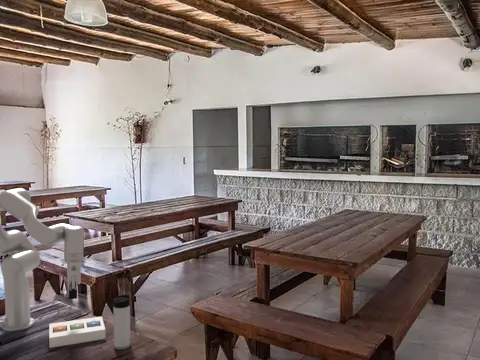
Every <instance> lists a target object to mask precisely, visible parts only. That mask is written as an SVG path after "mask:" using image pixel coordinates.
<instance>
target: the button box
mask: <svg viewBox="0 0 480 360" xmlns="http://www.w3.org/2000/svg"><path fill="white" fill-rule="evenodd" d="M91 321H99V326H95V327H88V323H89V322H91ZM76 323H82V324H83V328H82V329H75V330H71V325H73V324H76ZM48 325H49V326H48V327H49V328H48V329H49V332H48V336H49V337H48V341H49V348H50V349H51V348H57V347H63V346H70V345H76V344H81V343H87V342H94V341H101V340H106V339H107V338H106V336H107V335H106V327H105V323H104V319H103V316H96V317H95V316H94V317H88V318H81V319H73V320H68V321H67V320H66V321H61V322H60V321H59V322H52V323H49V324H48ZM57 326H66V331H62V332H55V333H54V328H55V327H57Z"/></svg>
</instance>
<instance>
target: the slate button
mask: <svg viewBox="0 0 480 360" xmlns="http://www.w3.org/2000/svg"><path fill="white" fill-rule="evenodd" d="M95 326H99V321H91V322H89V323H88V327H95Z"/></svg>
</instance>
